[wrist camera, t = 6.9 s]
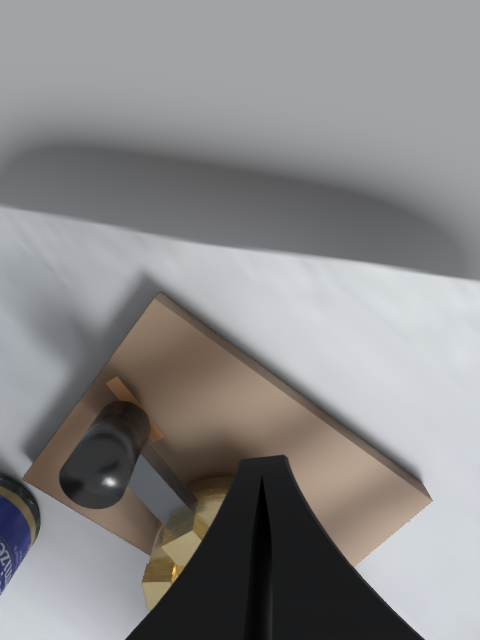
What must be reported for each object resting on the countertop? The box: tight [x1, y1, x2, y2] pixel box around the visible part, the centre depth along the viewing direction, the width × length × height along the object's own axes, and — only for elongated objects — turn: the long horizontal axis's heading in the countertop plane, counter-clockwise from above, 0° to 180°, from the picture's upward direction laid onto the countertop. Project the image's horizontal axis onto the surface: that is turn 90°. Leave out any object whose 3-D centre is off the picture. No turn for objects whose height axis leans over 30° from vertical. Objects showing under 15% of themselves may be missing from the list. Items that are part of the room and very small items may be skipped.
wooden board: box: [22, 292, 433, 567], centre depth 22 cm, size 18×13×1 cm
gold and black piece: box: [59, 401, 234, 610], centre depth 19 cm, size 14×8×5 cm, turn 35°
